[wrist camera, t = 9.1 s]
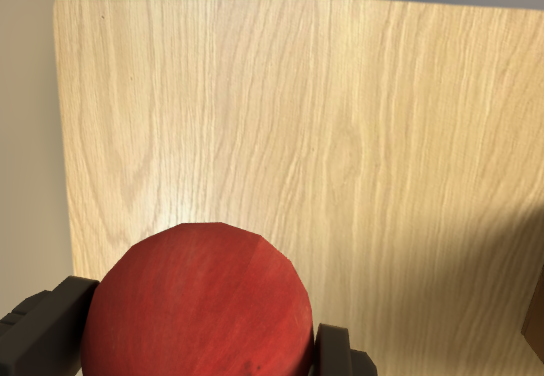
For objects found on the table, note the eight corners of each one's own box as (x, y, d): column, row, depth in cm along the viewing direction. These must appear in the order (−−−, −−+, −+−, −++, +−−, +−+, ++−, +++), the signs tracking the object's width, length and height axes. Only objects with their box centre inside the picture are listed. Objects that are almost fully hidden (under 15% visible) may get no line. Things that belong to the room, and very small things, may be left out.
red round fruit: (318, 345, 16) (317, 610, 8) (158, 345, 17) (23, 590, 9) (311, 184, 15) (301, 332, 7) (134, 191, 15) (-53, 333, 8)
